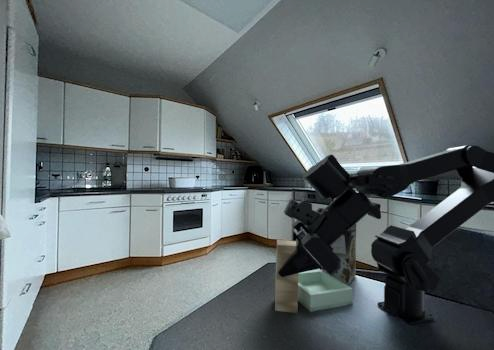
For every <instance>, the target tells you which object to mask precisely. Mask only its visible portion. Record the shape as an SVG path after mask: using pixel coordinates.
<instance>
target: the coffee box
mask: <svg viewBox="0 0 494 350" xmlns="http://www.w3.org/2000/svg"><path fill="white" fill-rule="evenodd" d="M348 232H349V233H350V235H349V236H348V237H347V238H346V237H345V236H342V237H341V238H340V239H338V240H337V241H336V242H335V243H334V244H333V245H332V246H331V247H332V248H333V250H332V251H333V252H334V253H335V254H336V255H337V256H338V257H339V258H340V260H341V267H340V269H339V270H338V271H337V272H336V273H335V274H333V275H332V277H334V278H336V279H337V280H339V281H341V282H342V283H344V284H346V285H347V286H349V285H350V284H351V283H352V281H354V279H355V277H356V272H357V271H356V268H357V267H356V265H357V264H356V261H357V223H356V224H355V225H354V226H353V227H352V228H351V229H350V230H349V231H348ZM322 271H324V272H325V273H327V274H329V273H328V272H327V271H326V270H325V269H324V268H323V269H322ZM329 275H330V274H329ZM330 276H331V275H330ZM354 276H355V277H354ZM353 278H354V279H353ZM349 287H350V286H349Z"/></svg>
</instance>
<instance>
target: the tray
mask: <svg viewBox="0 0 494 350" xmlns="http://www.w3.org/2000/svg"><path fill="white" fill-rule="evenodd" d="M353 302H354V288H352V287H351V286H347V285H346V284H344V283H342V282H341V281H339V280H337V279H336V278H334V277H332V276H330V275H329V274H327V273H325V272H324V271H322V270H320V269H316V270H311V271H306V272H301V273H299V275H298V303H300V304H302V306H303V307H304V308H306V309H307V310H308V311H309V312H316V311H323V310H328V309H332V308H333V309H334V308H339V307H345V306H349V305H353V304H354V303H353Z"/></svg>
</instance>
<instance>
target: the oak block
mask: <svg viewBox="0 0 494 350" xmlns="http://www.w3.org/2000/svg"><path fill="white" fill-rule="evenodd" d="M295 250H296V241H292V240H288V239H276V252H275V253H276V254H275V256H276V257H275V258H276V259H275V281H274V282H275V283H274V284H275V285H274V309H275V310H274V311H276V312H285V313H286V312H287V313H293V314H294V313H295V314H298V306H299V304H298V303H299V301H298V275H299V273H297V274H293V275H289V276H285V277H281V276H280V275H279V273H278V272H279V270H280V269H281V268H282V266H283V265H284V264H285V263H286V261H287V260H288V259H289V258H290V256H291V255H292V254H293V253H294V252H295Z"/></svg>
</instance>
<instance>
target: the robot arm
mask: <svg viewBox="0 0 494 350" xmlns="http://www.w3.org/2000/svg"><path fill="white" fill-rule="evenodd" d="M452 171H453V172H454V174H455V175H456V177H458V178H459V179H460V187H459V188H458V189H456V191H454V192H452V193H451V194H450V195H449V196H448V197H446V198H445V199H444V200H441V202H440V203H438V204H437V205H436V206H434V207H433V208H432V209H430V210H429V211H428V212H426V213H425V214H423V215H422V216H421V217H420V218H418V219H417V220H416V221H415V222H413V223H412V224H410V225H409V226H407V227H404V228H403V227H400V226H396V225H389V226H387V227H386V228H385V230H383V231H382V232H381V233H379V234H375V235H374V237H375V238H376V239H374V241H373V242H372V243H371V245H370V246H371V247H370V248H371V250H370V252H371V257H372V259H373V260H374V261H375V262H376V266H377V268H378V270H379V271H380V272H383V274H386V276H385V278H384V279H385V280H384V281H385V282H384V287H383V289H384V290H383V293H384V294H383V301H378V302H377V307H380V308H381V309H383V310H385V311H386V312H388V313H389V314H391V315H393V316H395V317H396V318H397V319H399V320H401V321H403V322H404V323H406V324H408V325H416V324H420V323H423V322H428V321H431V320H434V319H435V316H434V315H433V314H431V313H430V312H427V311H426V310H425V309H426V308H425V307H426V296H425V295H426V293H425V292H429V291H433V290H435V291H436V289H437V287H438V285H439V281H440V277H439V276H438V275H437V274H436V273H435V272H434V271H433V270H432V268H431V267H430V266H429V264H430V262H431V259H432V254H433V248H434V247H435V246H436V245H438V244H439V243H440V242H441V241H443V240H445V239H446V238H447V237H448V236H449V235H451V234H452V233H453V232H455V231H456V230H457V229H458V228H460V227H461V226H463V225H464V223H466V222H468V221H469V220H471V218H472V217H474V216H475V215H476V214H478V213H479V212H481V210H483V209H484V208H485V207H486V206H489V205H490V204H491V203H494V152H491V151H488V150H486V149H484V148H482V147H480V146H478V145H473V144H468V145H466V144H465V145H461V146H455V147H449V148H447V149H446V150H444V151H440V152H437V153H433V154H430V155H428V156H427V155H426V156H424V157H420V158H416V159H413V160H410V161H407V162H406V161H405V162H402V163H400V164H393V165H392V164H391V165H385V166H384V165H383V166H374V167H366V168H362V169H359V170H357V172H355V173H349V172H348V171H347V170H346V169H345V168H344V166H342V164H340V162H339V161H338V159H337V157H335V155H334V154H329V155H326V156H325V157H324V158H323V159H321V160H320V161H318V162H317V163H316V164H314V165H312V166H311V167H309V168H308V169H307V171H306V172H304V174H303V175H302V176H303V179H304V180H305V181H306V182H307V183H308V184H309V185H310V186H311V188H313V189H314V191H315V192H316V193H317V194H318V195H319V196H320V197H321V199H323V200H326V199H328V198H329V199H330V200H333V201H331V202H330V203H329V204H328V205H326V207H318V208H317V209H316V210H313V203H311V202H309V201H308V200H305V199H302V200H301V201H299V202H298V201H297V200H294V199H293V198H290V199H289V201H288V203H287V205H286V207H285V209H284V211H283V213H284V215H285V216H287V217H289V218H291V219H295V221H294V223H292V224H291V227H292V228H293V229H291V241H296V250H295V252H294V253H293V254H292V255H291V256H290V258H289V259H288V260H287V261H286V263H285V264H284V265H283V266H282V268H281V269H280V270H279V272H278V273H279V275H280V276H281V277H285V276H289V275H293V274H297V273H301V272H306V271H315V270H322V269H323V268H324V269H325V270H326V271H327V272H328V273H329V274H330V275H331V276H332V275H333V274H335V273H336V272H337V271H338V270H339V269H340V267H341V260H340V258H339V257H338V256H337V255H336V254H335V253H334V252H333V251H332V250H333V248H332V247H331V246H332V245H333V244H334V243H335V242H336V241H337V240H338V239H340V238H341V237H342V236H345V237H346V238H347V237H348V236H349V235H350V233H349V232H348V231H349V230H350V229H351V228H352V227H353V226H354V225H355V224H356V225H357V224H358V222H360V221H361V220H362V219H364V217H365V216H366V215H368V216H370V217H372V218H373V219H377V220H380V219H381V218H382V213H381V206H382V205H381V204H380V203H377V202H372V200H370V199H369V197H372V198H381V199H383V198H384V199H387V198H391V197H393V196H396V195H397V194H401V192H404V191H405V190H407V189H408V188H409V187H410V185H412V184H414V183H416V182H419V181H422V180H425V179H429V178H431V177H436V176H439V175H443V174H445V173H449V172H452ZM486 208H487V207H486ZM294 230H296V231H294Z"/></svg>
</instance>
